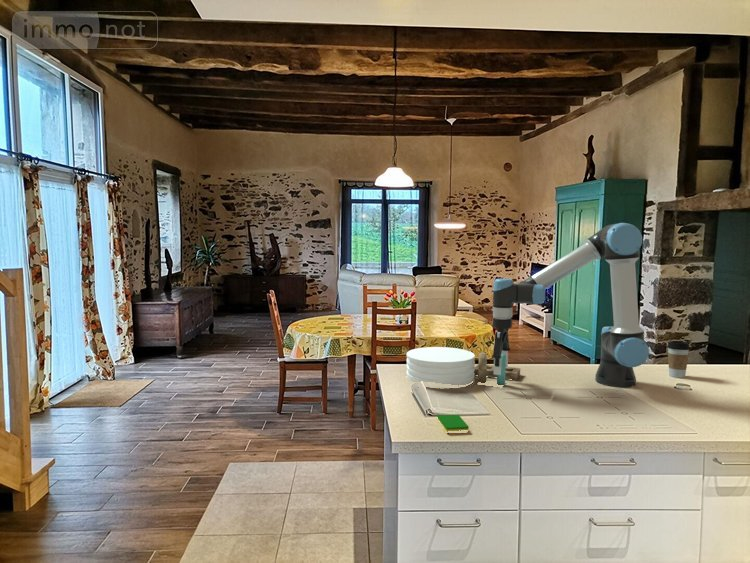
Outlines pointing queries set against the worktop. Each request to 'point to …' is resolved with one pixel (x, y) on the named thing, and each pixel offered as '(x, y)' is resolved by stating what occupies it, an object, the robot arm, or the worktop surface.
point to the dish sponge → (452, 422)
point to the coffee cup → (678, 358)
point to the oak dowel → (482, 367)
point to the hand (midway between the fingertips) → (500, 370)
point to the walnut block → (509, 372)
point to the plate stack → (441, 365)
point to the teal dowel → (502, 371)
